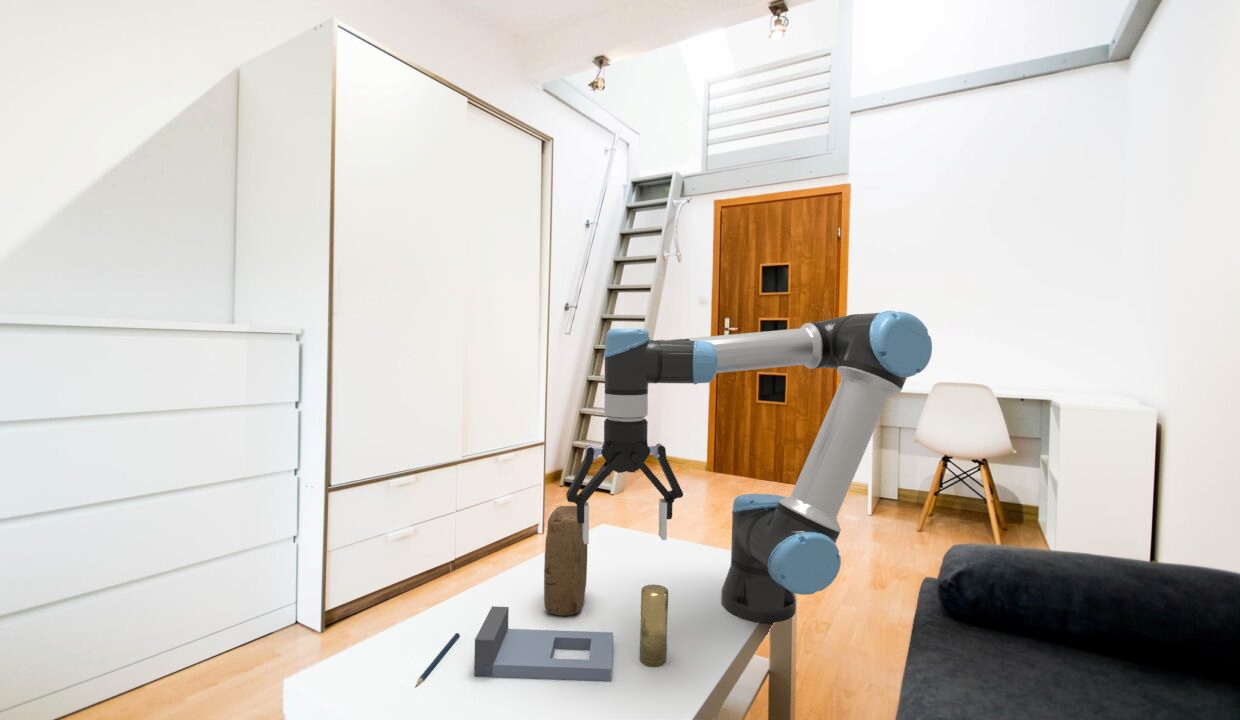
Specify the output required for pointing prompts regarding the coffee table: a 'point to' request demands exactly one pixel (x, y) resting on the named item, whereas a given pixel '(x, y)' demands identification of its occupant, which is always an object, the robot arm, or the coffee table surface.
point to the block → (564, 563)
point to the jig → (539, 651)
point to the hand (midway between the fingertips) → (624, 539)
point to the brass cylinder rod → (653, 625)
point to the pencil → (437, 659)
